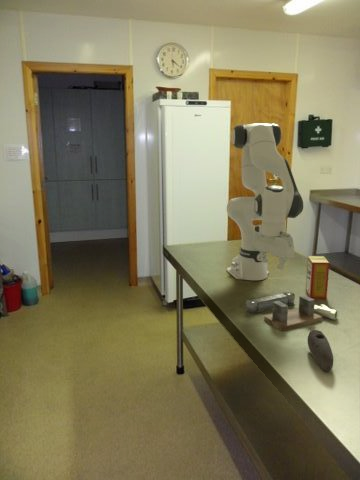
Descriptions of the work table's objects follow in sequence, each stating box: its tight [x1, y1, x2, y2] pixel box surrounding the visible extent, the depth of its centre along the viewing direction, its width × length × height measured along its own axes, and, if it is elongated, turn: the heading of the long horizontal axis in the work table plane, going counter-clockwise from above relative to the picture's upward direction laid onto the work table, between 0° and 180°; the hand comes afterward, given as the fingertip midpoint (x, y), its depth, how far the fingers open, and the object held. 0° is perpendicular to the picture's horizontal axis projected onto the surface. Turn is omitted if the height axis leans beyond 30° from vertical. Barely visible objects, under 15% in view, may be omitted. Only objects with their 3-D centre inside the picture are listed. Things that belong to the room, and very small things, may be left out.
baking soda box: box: [305, 255, 330, 300], centre depth 157 cm, size 10×6×16 cm
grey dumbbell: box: [245, 291, 296, 315], centre depth 146 cm, size 4×22×4 cm, turn 114°
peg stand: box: [263, 294, 323, 332], centre depth 134 cm, size 10×18×8 cm, turn 114°
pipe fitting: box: [314, 303, 338, 321], centre depth 139 cm, size 8×4×7 cm
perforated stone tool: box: [307, 329, 334, 373], centre depth 108 cm, size 15×5×7 cm, turn 174°
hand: (272, 265), depth 143 cm, fingers open, 8 cm apart
